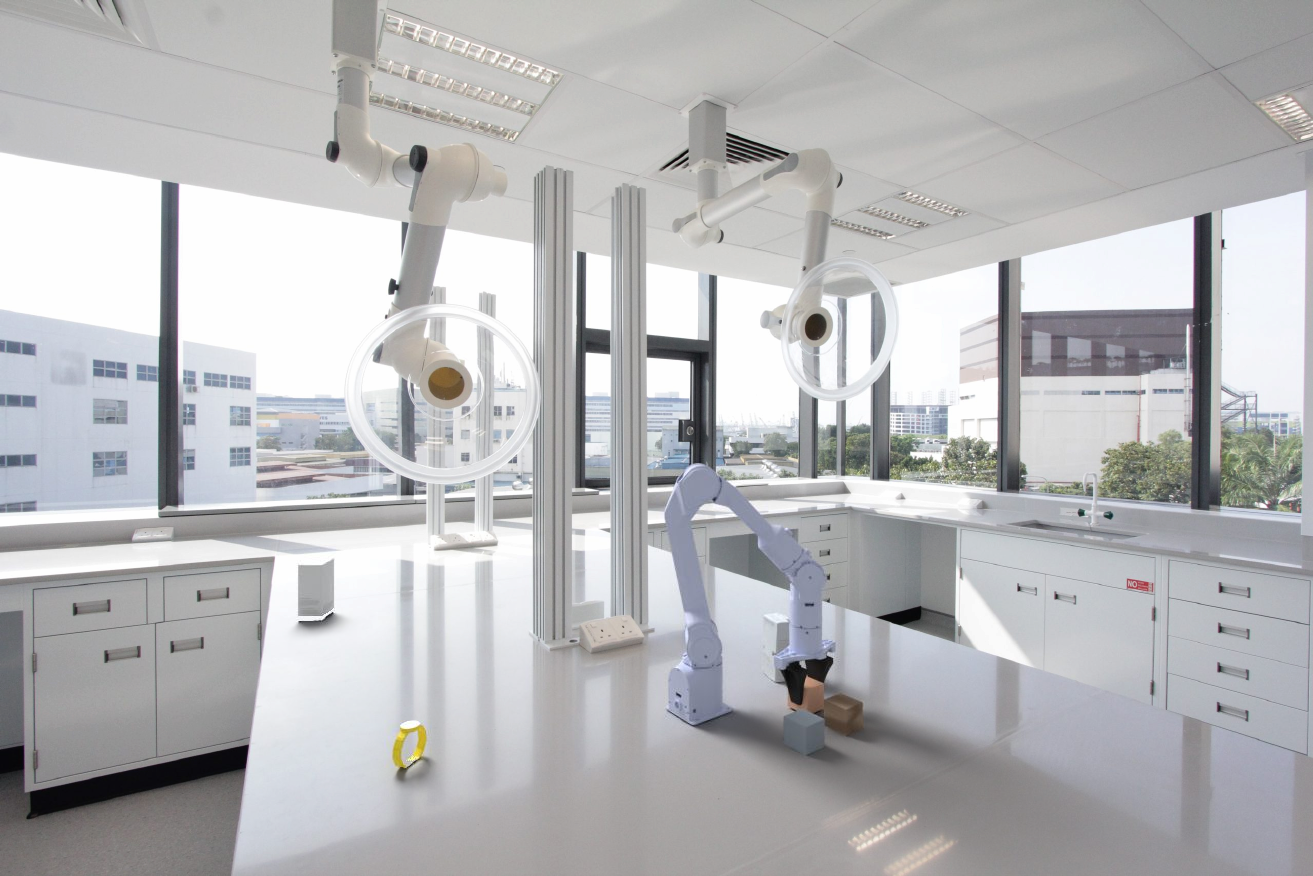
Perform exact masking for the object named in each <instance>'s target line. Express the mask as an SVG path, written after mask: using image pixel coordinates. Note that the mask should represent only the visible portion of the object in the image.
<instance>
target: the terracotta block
mask: <svg viewBox="0 0 1313 876" xmlns="http://www.w3.org/2000/svg"><path fill="white" fill-rule="evenodd" d="M824 699H825V682H824V683H822V682H819V681H817V680H814V679H812V678H810V677H808V676H806V679H805V684H804V693H803V702H802V705H797V704H795V703H793V702H791V700H790V696H789V692H788V691H787V707H788V708H791V709H793V710H795V711H798V710H800V709H804V710H806V711H809V712H811V713H813V714H815V713H816V712H819V711H822V710H824Z"/></svg>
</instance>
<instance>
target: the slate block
mask: <svg viewBox="0 0 1313 876" xmlns="http://www.w3.org/2000/svg"><path fill="white" fill-rule="evenodd" d="M825 727H826V726H825V719H824V717H821V716H818V715H817V714H816V713H811V712H809V711H806V710H804V709H800V710H798V711H797V710H795V711H793V712H790V713H788V714H785V715H783V745H785V746H787V747H789V748H790V749H793V750H794V751H796V752H798V753H800V754H802V755H803V754H804V755H803V756H808V754H809V755H810V753H811V754H812V752H813V753H814V751H815V752H816V750H817V751H818V749H819V750H821V749H823V748H824V747H825V743H826V742H825V736H826V735H825V733H826V732H825ZM822 747H823V748H822ZM820 748H821V749H820Z"/></svg>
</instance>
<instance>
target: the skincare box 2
mask: <svg viewBox="0 0 1313 876" xmlns="http://www.w3.org/2000/svg"><path fill="white" fill-rule="evenodd" d="M789 623H790V616H787V615H785V614H783V613H782V612H775V613H767V614H763V625H762V627H763V628H762V633H763V634H762V660H761V662H762V663H761V667H762V669H761V671H762V673H764V675H765V676H766V677H768V678H769V679H770V680H771V681H773V682H774V683H783V682H784V683H786V682H785V679H784V677H783V675H782V673H781V671H780V669H779V668H776V667H774V655H777V654H779V653H780V652H782V651H783V650H784V649H786V648H787V647H788V646H789Z"/></svg>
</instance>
